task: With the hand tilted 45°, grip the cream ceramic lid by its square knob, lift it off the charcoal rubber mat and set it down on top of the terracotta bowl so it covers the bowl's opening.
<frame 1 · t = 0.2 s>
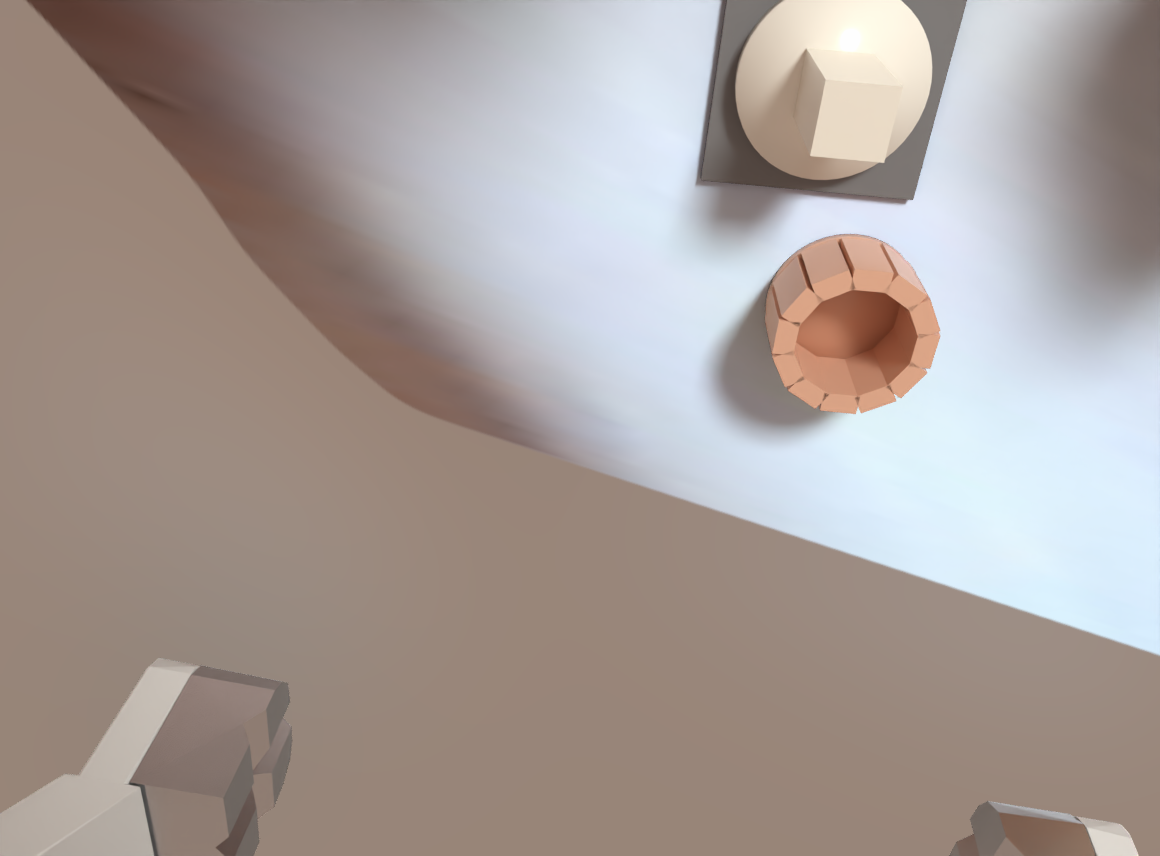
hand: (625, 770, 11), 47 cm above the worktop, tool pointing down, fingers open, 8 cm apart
bowl: (840, 304, 59), on the worktop
lid: (829, 80, 51), resting on rubber mat
rubber mat: (828, 78, 52), on the worktop
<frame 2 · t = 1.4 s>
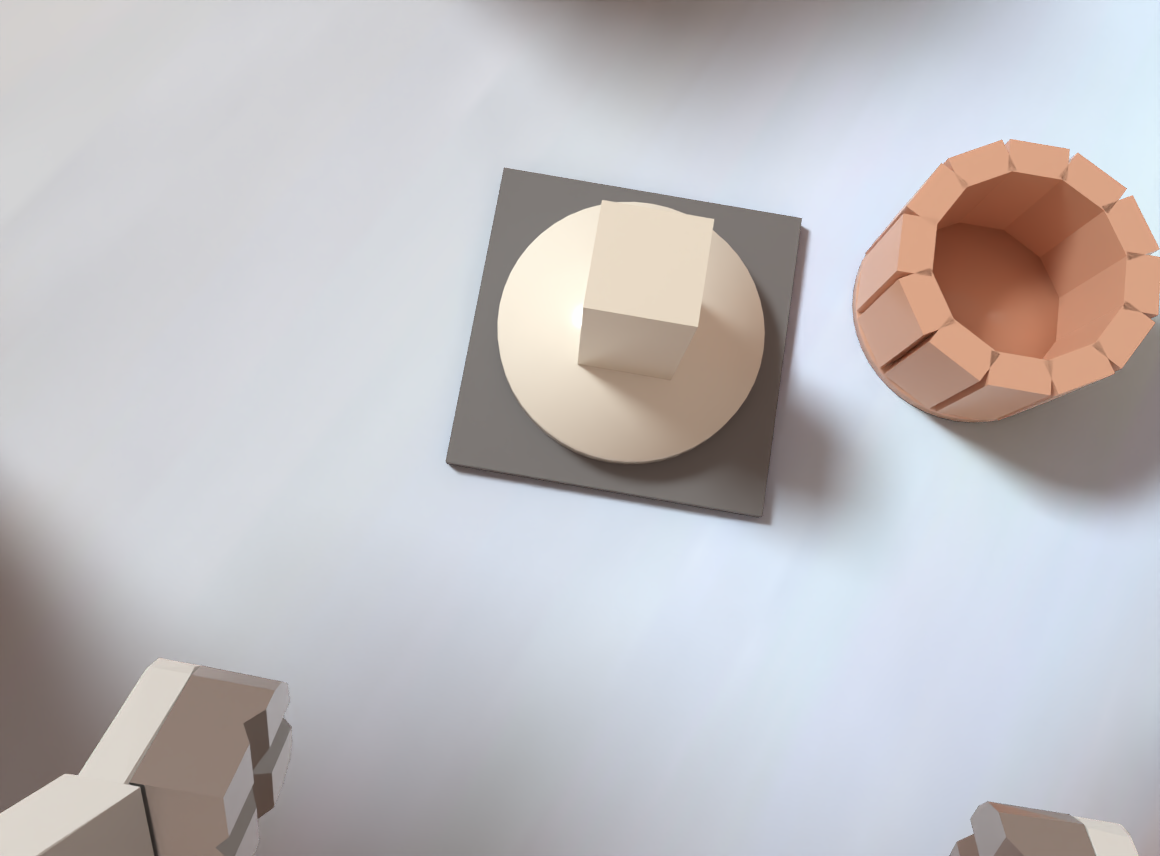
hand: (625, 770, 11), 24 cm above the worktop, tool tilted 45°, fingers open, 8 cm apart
bowl: (965, 311, 38), on the worktop
lid: (629, 336, 37), resting on rubber mat
rubber mat: (628, 339, 38), on the worktop
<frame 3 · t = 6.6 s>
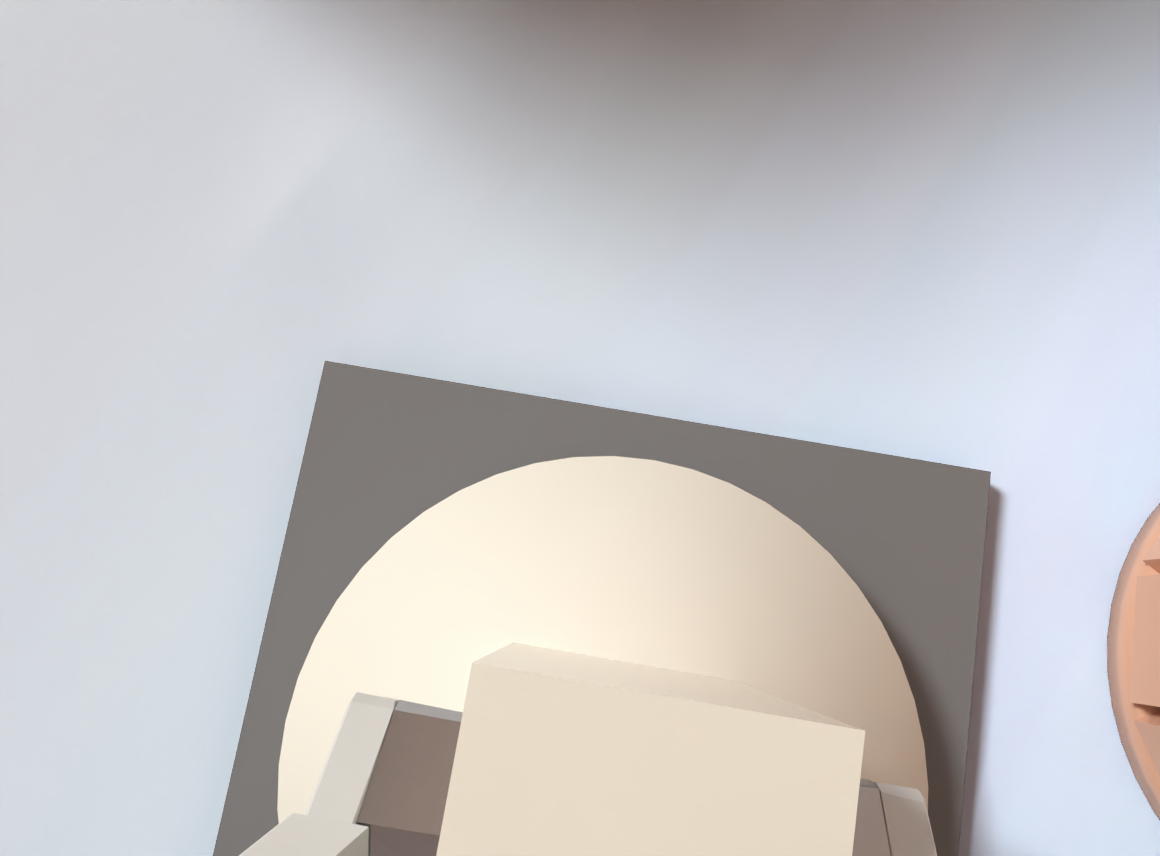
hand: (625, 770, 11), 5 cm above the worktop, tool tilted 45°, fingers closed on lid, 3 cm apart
lid: (601, 764, 16), resting on rubber mat, touching gripper
rubber mat: (600, 760, 16), on the worktop
when the fingers open (12 cm above the worktop, at t = 13.0 s): lid drops 1 cm, resting on bowl.
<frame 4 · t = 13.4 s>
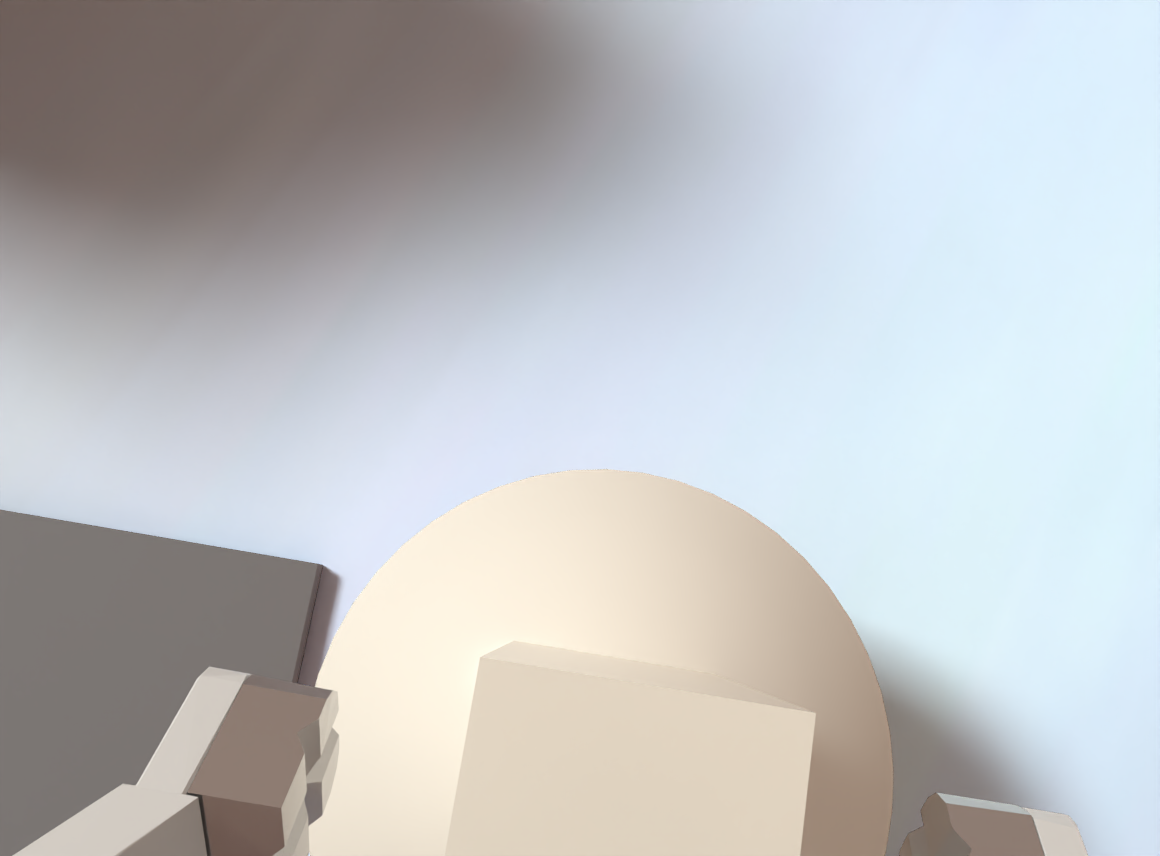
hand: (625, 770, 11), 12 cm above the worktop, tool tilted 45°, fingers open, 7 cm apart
lid: (596, 752, 17), point 5 cm above the worktop, touching bowl
rubber mat: (11, 780, 22), on the worktop
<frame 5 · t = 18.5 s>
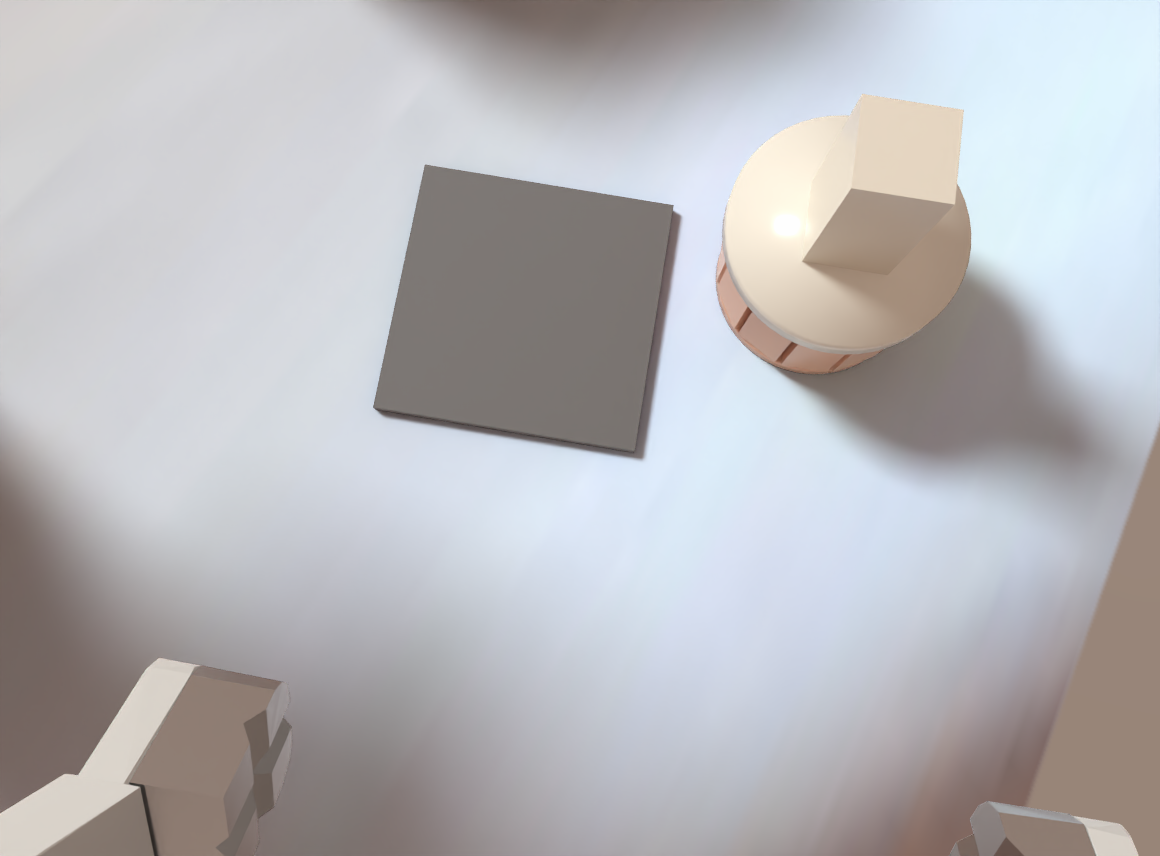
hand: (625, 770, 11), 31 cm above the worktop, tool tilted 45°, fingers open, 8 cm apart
bowl: (810, 282, 46), on the worktop
lid: (840, 239, 40), point 5 cm above the worktop, touching bowl
rubber mat: (527, 307, 45), on the worktop
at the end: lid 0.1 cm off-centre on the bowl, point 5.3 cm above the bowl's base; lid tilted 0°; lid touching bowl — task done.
